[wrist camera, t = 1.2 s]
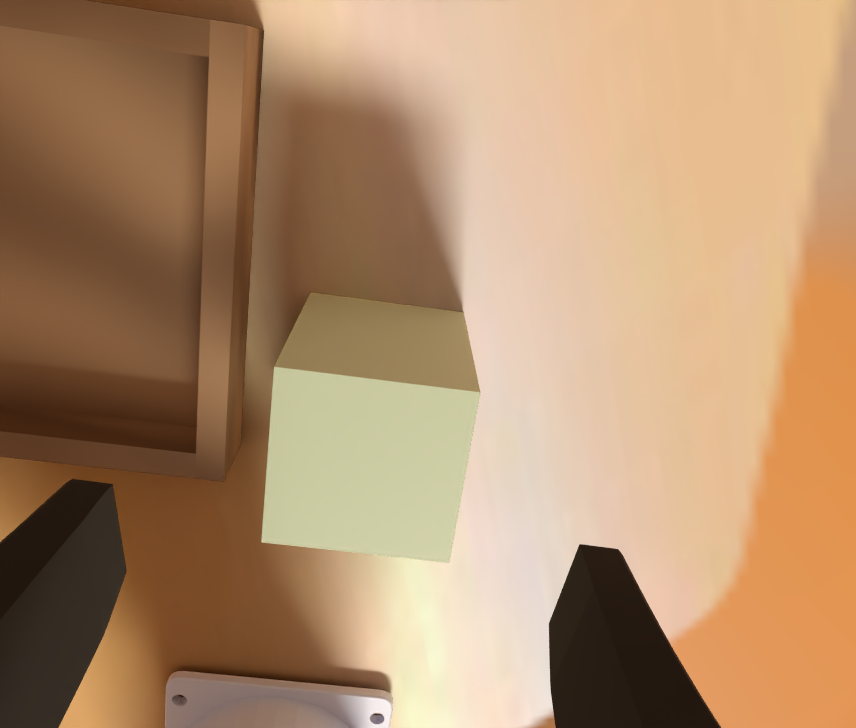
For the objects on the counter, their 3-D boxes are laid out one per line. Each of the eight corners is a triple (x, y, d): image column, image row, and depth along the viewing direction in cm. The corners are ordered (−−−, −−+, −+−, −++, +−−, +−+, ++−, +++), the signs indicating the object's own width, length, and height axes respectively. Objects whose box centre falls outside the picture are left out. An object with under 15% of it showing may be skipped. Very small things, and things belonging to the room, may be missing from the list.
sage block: (441, 447, 23) (449, 562, 18) (298, 430, 23) (261, 542, 18) (463, 312, 22) (480, 392, 16) (310, 291, 22) (274, 366, 16)
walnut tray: (240, 446, 23) (223, 482, 21) (-126, 403, 22) (-179, 436, 20) (264, 30, 19) (246, 24, 17) (-186, -39, 18) (-262, -54, 16)
